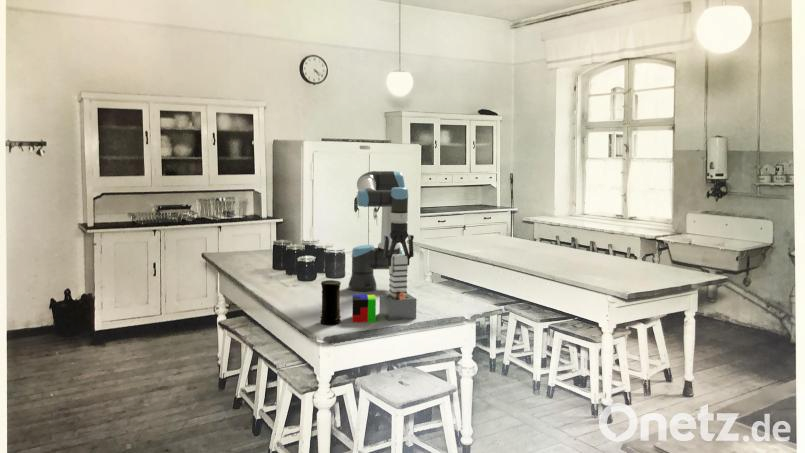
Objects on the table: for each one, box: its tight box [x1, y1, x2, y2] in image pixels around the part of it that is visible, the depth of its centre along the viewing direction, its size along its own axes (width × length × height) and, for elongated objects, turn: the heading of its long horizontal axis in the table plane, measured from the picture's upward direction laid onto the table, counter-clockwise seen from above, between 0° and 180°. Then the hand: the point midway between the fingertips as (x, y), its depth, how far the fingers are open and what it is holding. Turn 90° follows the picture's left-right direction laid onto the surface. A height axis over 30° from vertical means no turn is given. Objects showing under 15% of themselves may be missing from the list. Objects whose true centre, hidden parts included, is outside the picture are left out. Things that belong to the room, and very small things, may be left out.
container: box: [319, 279, 342, 326], centre depth 285 cm, size 9×9×18 cm
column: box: [388, 253, 408, 299], centre depth 297 cm, size 6×6×20 cm
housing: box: [378, 292, 418, 322], centre depth 298 cm, size 13×13×12 cm
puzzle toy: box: [351, 294, 377, 323], centre depth 292 cm, size 10×10×10 cm
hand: (398, 272), depth 297 cm, fingers closed on column, 6 cm apart
